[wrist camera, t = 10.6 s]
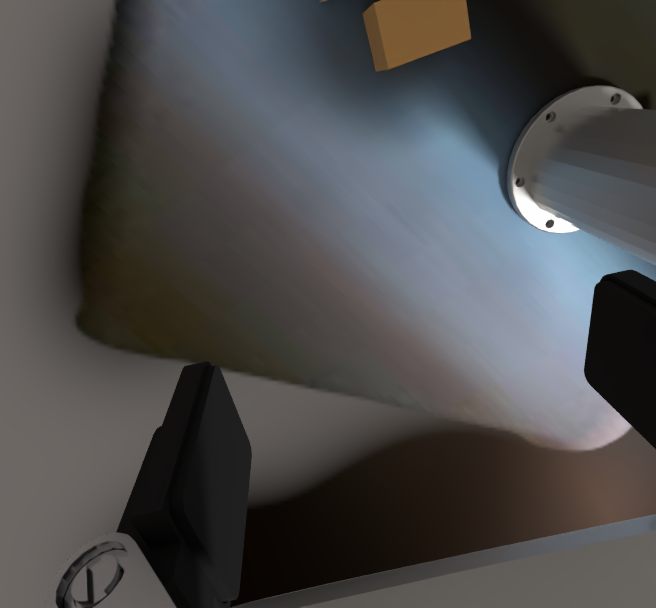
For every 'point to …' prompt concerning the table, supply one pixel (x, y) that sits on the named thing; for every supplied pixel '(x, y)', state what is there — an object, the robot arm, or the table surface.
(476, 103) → the table surface
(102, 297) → the table surface
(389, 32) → the block
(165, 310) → the table surface
